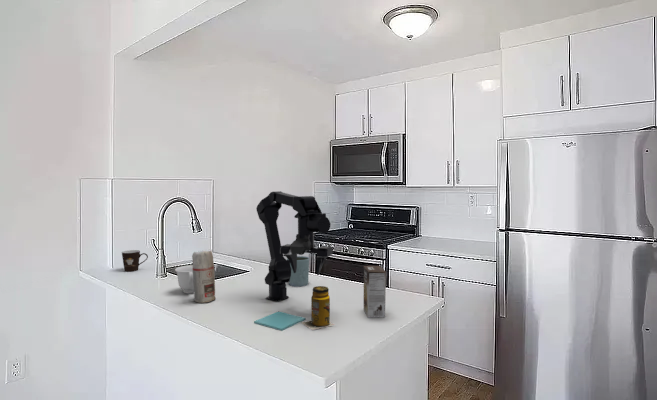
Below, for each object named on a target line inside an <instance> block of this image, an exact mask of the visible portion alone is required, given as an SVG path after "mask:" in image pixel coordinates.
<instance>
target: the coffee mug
mask: <svg viewBox="0 0 657 400" xmlns="http://www.w3.org/2000/svg"><path fill="white" fill-rule="evenodd" d="M143 255H145V256H146V258H145V259H144V260H143V261H142V262H140V258H141V256H143ZM121 257H122V264H123V268H124V272H125V273H133V272H138V271H139V266H140V265H141V264H143V263H145V262H146V261H147V260H148V258H149V256H148V254H147V253H145V252H143V253H141V251H140V250H137V249H131V250H130V249H129V250H124V251H121Z"/></svg>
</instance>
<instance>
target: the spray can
mask: <svg viewBox="0 0 657 400" xmlns="http://www.w3.org/2000/svg"><path fill="white" fill-rule="evenodd" d="M191 258H192V265H193V285H194V293H193V297H194V302H195V303H198V304H199V303H200V304H202V303H203V304H204V303H209V302H210V303H211V302H212V301H214V300H216V284H215V283H216V282H215V281H216V278H215V276H216V275H215V274H216V273H215V264H214V256H213V250H212V249H204V250H198V251H193V253H192V255H191Z"/></svg>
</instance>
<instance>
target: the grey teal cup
mask: <svg viewBox="0 0 657 400" xmlns="http://www.w3.org/2000/svg"><path fill="white" fill-rule="evenodd" d="M286 260H288V258H287V257H286ZM290 266H291V264H290ZM309 267H310V257H309V256H303V255H299V256H298V255H297V270H296V273H294V272H293V269H292V267H291V269H292V270H291V277H290V281H289V282H288V283H289V286H290V287H294V288H295V287H297V288H298V287H299V288H300V287H306V286H308V285H309V274H310V270H309V269H310V268H309Z"/></svg>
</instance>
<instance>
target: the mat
mask: <svg viewBox="0 0 657 400" xmlns="http://www.w3.org/2000/svg"><path fill="white" fill-rule="evenodd" d="M305 321H306V317H303V316H301V315H295V314H290V313H286V312H283V311H276V312H274V313H271V314H269V315H266V316H264V317H261V318H259V319H256V320H253V323H254V324H256V325H260V326H264V327H267V328H271V329H275V330H279V331H282V332H283V331H284V330H287V329H289V328H291V327H293V326H294V325H298V324H299V323H302V322H305Z"/></svg>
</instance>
